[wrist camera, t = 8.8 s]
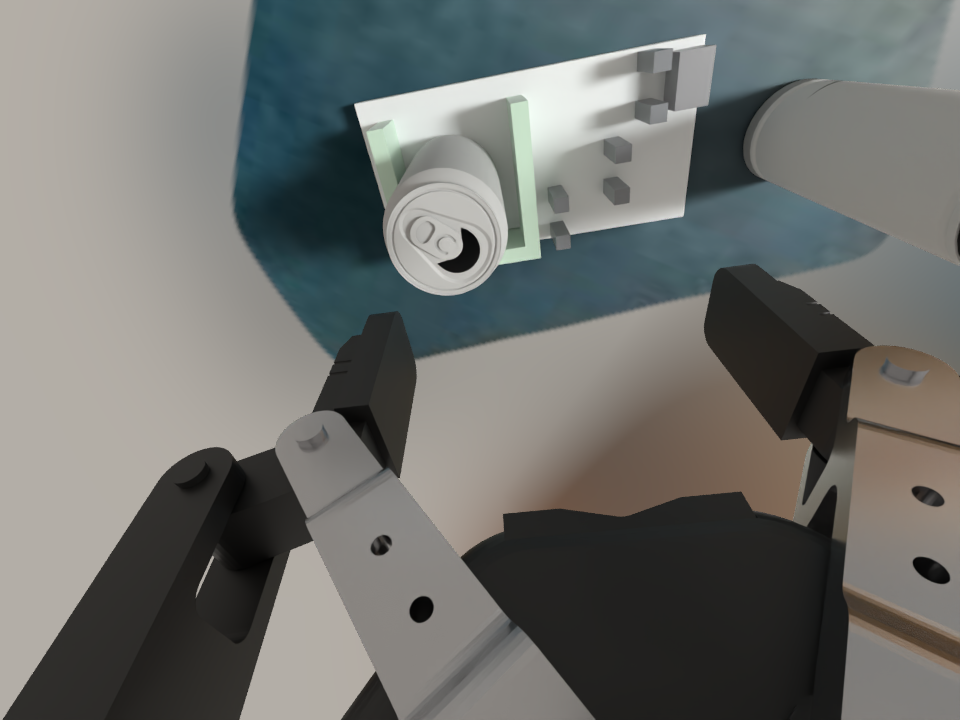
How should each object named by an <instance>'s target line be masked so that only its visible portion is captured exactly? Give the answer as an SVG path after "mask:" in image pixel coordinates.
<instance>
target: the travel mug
mask: <svg viewBox="0 0 960 720" xmlns="http://www.w3.org/2000/svg"><path fill="white" fill-rule="evenodd" d="M743 155H744V160H745V163H746V165H747V167H748V168H749V170H750V171H751V172H752V173H753V174H754V175H755V176H758V177H760V178H762V179H764V180H766V181H769V182H771V183H773V184H775V185H778V186H780V187H782V188H784V189H787V190H789V191H791V192H793V193H796V194H798V195H800V196H803V197H805V198H807V199H809V200H812V201H814V202H816V203H818V204H821V205H823V206H825V207H827V208H830V209H832V210H834V211H836V212H839V213H841V214H843V215H845V216H848V217H850V218H852V219H854V220H857V221H859V222H861V223H863V224H866V225H868V226H870V227H872V228H875V229H877V230H879V231H881V232H884V233H886V234H888V235H890V236H893V237H895V238H897V239H899V240H902V241H904V242H906V243H908V244H911V245H913V246H916V247H918V248H920V249H922V250H924V251H927V252H929V253H931V254H933V255H936V256H938V257H940V258H942V259H945V260H947V261H949V262H951V263H954V264H956V265H959V266H960V90H950V89H938V88H925V87H913V86H901V85H888V84H876V83H864V82H851V81H839V80H827V79H803V80H799V81H795V82H793V83H791V84H789V85H787V86H785V87H783V88H782V89H780V90H778V91H777V92H775V93H774V94H773V95H772V96H771V97H770V98H769V99H767V100H766V101H765V103H764V104H763V105H762V106H761V107H760V108H759V110H758V111H757V112H756V114H755V116H754V117H753V119H752V120H751V122H750V125H749V127H748V129H747V132H746V135H745V138H744V145H743Z"/></svg>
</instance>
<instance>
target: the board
mask: <svg viewBox="0 0 960 720" xmlns="http://www.w3.org/2000/svg"><path fill="white" fill-rule="evenodd" d="M705 37H706V34H702V35H694V36H689V37H684V38H679V39H674V40H669V41H664V42H659V43H654V44H649V45H644V46H639V47H634V48H629V49H624V50H619V51H614V52H609V53H604V54H599V55H594V56H589V57H584V58H578V59H573V60H568V61H563V62H558V63H553V64H548V65H543V66H538V67H533V68H528V69H523V70H518V71H513V72H508V73H503V74H498V75H493V76H488V77H483V78H478V79H473V80H468V81H463V82H458V83H453V84H448V85H443V86H438V87H433V88H428V89H423V90H418V91H413V92H408V93H403V94H398V95H393V96H388V97H383V98H378V99H373V100H368V101H363V102H358V103H356V104H354V106H355V109H356V112H357V116H358V119H359V123H360V126H361V129H362V133H363V136H364V140H365V143H366V146H367V150H368V153H369V157H370V160H371V163H372V167H373V170H374V174H375V177H376V180H377V184H378V187H379V191H380V194H381V197H382V201H383V204H384V207H385V209H386V206H387V202H386V199H385V195H384V192H383V188H382V185H381V182H380V178H379V175H378V171H377V168H376V164H375V161H374V157H373V154H372V150H371V147H370V144H369V140H368V137H367V133H366V131H368V130H369V129H370V128H372V127H373V126H374V125H376V124H377V123H378V122H383V121H388V120H394V124H395V128H396V132H397V136H398V140H399V144H400V148H401V152H402V156H403V160H404V164H405V168H406V170H407V168H408V167H409V165H410V163H411V162H412V160H413V158H414V157H415V155H416V154H417V152H418V151H419V150H420V149H421V148H422V147H423V146H424V145H425V144H426V143H428V142H429V141H431V140H433V139H435V138H437V137H440V136H444V135H460V136H464V137H467V138H470V139H472V140H474V141H476V142H477V143H479V144H480V145H481V146H482V147H483V148H485V149H486V151H487V152H488V153H489V154H490V156H491V157H492V159H493V161H494V163H495V165H496V168H497V171H498V175H499V181H500V186H501V191H502V197H503V202H504V208H505V213H506V219H507V225H508V229H511V228H517V227H520V221H519V212H518V203H517V193H516V184H515V175H514V166H513V157H512V147H511V138H510V129H509V120H508V111H507V101H506V98H507V97H512V96H517V95H522V96H524V97H525V98H526V99H527V100H528V107H529V119H530V131H531V143H532V155H533V167H534V179H535V191H536V204H537V216H538V228H539V240H541V239H547V238H552V240H553V243H554V245H555V247H556V250H562V249H568V248H571V241H570V235H572V234H578V233H584V232H590V231H596V230H602V229H609V228H615V227H621V226H627V225H633V224H639V223H645V222H652V221H658V220H664V219H670V218H676V217H682V216H683V215H684V207H685V199H686V191H687V183H688V175H689V167H690V159H691V150H692V142H693V134H694V126H695V118H696V110H697V107H702V106H707V105H708V103H709V96H710V88H711V81H712V74H713V66H714V59H715V52H716V45H705Z"/></svg>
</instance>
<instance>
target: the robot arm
mask: <svg viewBox="0 0 960 720" xmlns="http://www.w3.org/2000/svg"><path fill="white" fill-rule="evenodd" d="M704 333H705V338H706V341H707V343H708V345H709V346H710V348H711V349H712V350H713V352H714V353H715V355H716V356H717V357H718V359H719V360H720V361H721V362H722V364H723V365H724V366H725V367H726V369H727V370H728V372H729V373H730V374H731V375H732V377H733V378H734V379H735V381H736V382H737V383H738V385H739V386H740V387H741V389H742V390H743V391H744V392H745V394H746V395H747V396H748V398H749V399H750V400H751V402H752V403H753V404H754V405H755V407H756V408H757V409H758V411H759V412H760V413H761V415H762V416H763V417H764V418H765V420H766V421H767V422H768V424H769V425H770V426H771V427H772V429H773V430H774V432H775V433H776V434H777V435H778V437H779V438H780V439H781V440H788V439H798V438H808V439H809V441H810V442H811V445H810V447H809V449H808V451H807V454H806V458H805V463H804V468H803V474H802V478H801V483H800V489H799V494H798V499H797V504H796V509H795V514H794V518H793V521H791V520H788V519H785V518H781V517H778V516H775V515H771V514H767V513H762V512H758V511H752V509H751V507H750V506H749V504H748V502H747V501H746V499H745V497H744V496H743V494H742V492H732V493H721V494H711V495H700V496H690V497H681V498H678V499H675V500H672V501H669V502H666V503H663V504H661V505H658V506H655V507H652V508H649V509H647V510H644V511H641V512H638V513H635V514H632V515H630V516H625V517H616V516H609V515H602V514H595V513H588V512H580V511H573V510H566V509H551V510H540V511H530V512H520V513H508V514H503V519H504V532H501V533H499V534H496V535H494V536H492V537H490V538H488V539H486V540H484V541H482V542H480V543H479V544H477V545H476V546H474V547H473V548H471V549H470V550H469V551H467V552H466V553H465V554H464V555H463V556H461V557H459V556H458V554H457V553H456V552H455V551H454V549H453V548H452V546H451V545H450V544H449V543H448V541H447V540H446V539H445V538H444V536H443V535H442V534H441V532H440V531H439V530H438V529H437V527H436V526H435V525H434V524H433V522H432V521H431V520H430V519H429V517H428V516H427V515H426V514H425V512H424V511H423V510H422V509H421V507H420V506H419V505H418V503H417V502H416V501H415V500H414V498H413V497H412V496H411V494H410V493H409V492H408V491H407V489H406V488H405V487H404V486H403V484H402V483H401V482H400V480H399V479H398V478H400V473H401V468H402V462H403V456H404V450H405V444H406V438H407V432H408V427H409V421H410V415H411V409H412V403H413V396H414V391H415V385H416V364H415V359H414V356H413V352H412V349H411V346H410V343H409V339H408V336H407V333H406V330H405V326H404V323H403V320H402V317H401V315H400V313H399V312H398V311H396V312H388V313H381V314H374V315H369V317H368V319H367V322H366V324H365V327H364V329H363V332H362V335H357V336H352V337H351V338H350V339H349V340H348V341H347V342H346V343H345V344H344V345H343V346H342V347H341V348H340V350H339V352H338V354H337V357H336V359H335V361H334V363H335V364H334V365H333V366H332V369H331V371H330V376H328V377H327V380H326V382H325V384H324V387H323V389H322V391H321V394H320V396H319V398H318V400H317V403H316V405H315V407H314V410H313V412H312V413H310V414H308V415H305V416H303V417H301V418H300V419H298V420H296V421H294V422H293V423H292V424H290V425H289V426H288V427H287V428H286V429H285V430H284V431H283V432H282V434H281V435H280V436H279V438H278V440H277V442H276V446H275V448H273V449H270V450H267V451H265V452H262V453H259V454H256V455H253V456H251V457H248V458H245V459H242V460H239V461H236V460H235V458H234V457H233V456H232V454H231V453H230V452H229V451H228V450H226V449H224V448H219V447H214V448H207V449H203V450H200V451H197V452H195V453H193V454H190V455H188V456H187V457H185V458H183V459H182V460H180V461H179V462H177V463H176V464H175V465H173V466H172V467H171V468H170V469H169V470H168V471H166V473H165V474H164V475H163V476H162V477H161V478H160V480H159V481H158V483H157V484H156V486H155V487H154V489H153V490H152V492H151V493H150V495H149V497H148V498H147V499H146V501H145V502H144V504H143V506H142V507H141V509H140V510H139V512H138V513H137V515H136V516H135V518H134V519H133V521H132V523H131V524H130V526H129V527H128V529H127V530H126V532H125V533H124V535H123V536H122V538H121V539H120V541H119V542H118V544H117V545H116V547H115V548H114V550H113V551H112V553H111V554H110V556H109V558H108V559H107V561H106V562H105V564H104V565H103V567H102V568H101V570H100V571H99V573H98V574H97V576H96V577H95V579H94V581H93V582H92V584H91V585H90V587H89V588H88V590H87V591H86V593H85V594H84V596H83V597H82V599H81V600H80V602H79V603H78V605H77V606H76V608H75V610H74V611H73V613H72V614H71V616H70V617H69V619H68V620H67V622H66V624H65V625H64V627H63V628H62V630H61V631H60V633H59V634H58V636H57V637H56V639H55V640H54V642H53V643H52V645H51V646H50V648H49V649H48V651H47V652H46V654H45V656H44V657H43V659H42V660H41V662H40V663H39V665H38V666H37V668H36V669H35V671H34V672H33V674H32V675H31V677H30V678H29V680H28V681H27V683H26V685H25V686H24V688H23V689H22V691H21V692H20V694H19V695H18V697H17V698H16V700H15V701H14V703H13V705H12V706H11V707H10V709H9V711H8V712H7V714H6V715H5V717H4V718H3V720H239V719H240V715H241V712H242V709H243V705H244V702H245V699H246V695H247V692H248V689H249V685H250V682H251V679H252V675H253V672H254V669H255V665H256V662H257V659H258V656H259V652H260V649H261V646H262V642H263V639H264V636H265V633H266V629H267V626H268V623H269V619H270V616H271V612H272V609H273V606H274V603H275V599H276V596H277V593H278V589H279V586H280V583H281V580H282V576H283V573H284V570H285V566H286V563H287V560H288V556H289V553H290V550H292V549H294V548H297V547H299V546H302V545H304V544H306V543H309V542H311V541H314V543H315V545H316V547H317V549H318V551H319V553H320V555H321V558H322V559H323V561H324V564H325V566H326V568H327V570H328V572H329V574H330V576H331V578H332V580H333V583H334V585H335V587H336V589H337V591H338V593H339V595H340V597H341V599H342V601H343V603H344V605H345V608H346V610H347V612H348V614H349V616H350V618H351V620H352V622H353V624H354V626H355V628H356V630H357V633H358V635H359V637H360V639H361V641H362V643H363V645H364V647H365V649H366V651H367V654H368V655H369V658H370V660H371V662H372V664H373V666H374V668H375V670H376V671H375V673H374V674H373V676H372V677H371V678H370V680H369V681H368V683H367V684H366V685H365V687H364V688H363V690H362V691H361V693H360V694H359V695H358V697H357V698H356V699H355V701H354V702H353V704H352V705H351V706H350V708H349V709H348V711H347V712H346V713H345V715H344V716H343V718H342V719H341V720H960V376H959V375H958V374H957V372H956V371H955V370H954V369H953V368H952V367H951V366H949V365H948V364H947V363H945V362H943V361H942V360H940V359H938V358H936V357H934V356H932V355H929V354H926V353H924V352H921V351H917V350H914V349H910V348H905V347H899V346H890V345H877V346H874V345H873V344H872V343H870V342H869V341H868V340H867V339H865V338H864V337H862V336H861V335H860V334H858V333H857V332H856V331H855V330H853V329H852V328H851V327H849V326H848V325H847V324H846V323H844V322H843V321H841V320H840V319H839V318H838V317H836V316H835V315H834V314H831V315H830V312H829V311H828V310H827V309H826V308H825V307H823V306H822V305H821V304H817V302H816V301H815V300H814V299H813V298H811V297H810V296H809V295H808V294H806V293H805V292H803V291H802V290H801V289H798V288H796V287H793V286H791V285H788V284H786V283H783V282H781V281H777V280H775V279H774V278H773V277H772V276H770V275H769V274H768V273H767V272H765V271H764V270H763V269H762V268H760V267H759V266H758V265H756V264H748V265H741V266H733V267H726V268H720V269H719V270H718V271H717V272H716V274H715V276H714V279H713V284H712V289H711V294H710V298H709V304H708V308H707V313H706V318H705V323H704ZM212 555H213V556H214V559H213V562H212V564H211V566H210V568H209V570H208V573H207V575H206V577H205V580H204V582H203V584H202V586H201V588H200V591H199V593H198V595H197V597H196V592H197V589H198V586H199V583H200V581H201V579H202V577H203V575H204V572H205V570H206V568H207V566H208V563H209V561H210V559H211V557H212Z"/></svg>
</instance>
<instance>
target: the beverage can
mask: <svg viewBox="0 0 960 720" xmlns="http://www.w3.org/2000/svg"><path fill="white" fill-rule="evenodd" d="M383 234H384V240H385V244H386V247H387V250H388V252H389V255H390V258H391V260H392V262H393V264H394V266H395V268H396V269H397V270H398V272H399V273H400V274H401V275H402V276H403V277H404V278H405V279H406V280H407V281H408V282H409V283H411V284H412V285H414V286H415V287H417V288H419V289H421V290H423V291H425V292H428V293H432V294H436V295H457V294H462V293H465V292H467V291H469V290H472V289H474V288H476V287H477V286H479V285H480V284H482V283H483V282H484V281H485V280H486V279H487V278H488V277H489V276H490V275H491V273H492V272H493V271H494V270H495V268H496V267H497V266H498V264H499V263H500V261H501V259H502V257H503V255H504V252H505V249H506V245H507V239H508V225H507V219H506V213H505V208H504V202H503V197H502V191H501V186H500V181H499V175H498V171H497V168H496V165H495V163H494V161H493V159H492V157H491V156H490V154H489V153H488V152H487V151H486V149H485V148H483V147H482V146H481V145H480V144H479V143H477V142H476V141H474V140H472V139H470V138H467V137H464V136H460V135H444V136H440V137H437V138H435V139H433V140H431V141H429V142H428V143H426V144H425V145H424V146H423V147H422V148H421V149H420V150H419V151H418V152H417V154H416V155H415V157H414V158H413V160H412V162H411V163H410V165H409V167H408V168H407V170H406V172H405V174H404V175H403V177H402V179H401V180H400V182H399V184H398V185H397V187H396V189H395V191H394V192H393V194H392V196H391V197H390V199H389V201H388V204H387V206H386V209H385V213H384V218H383Z"/></svg>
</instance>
